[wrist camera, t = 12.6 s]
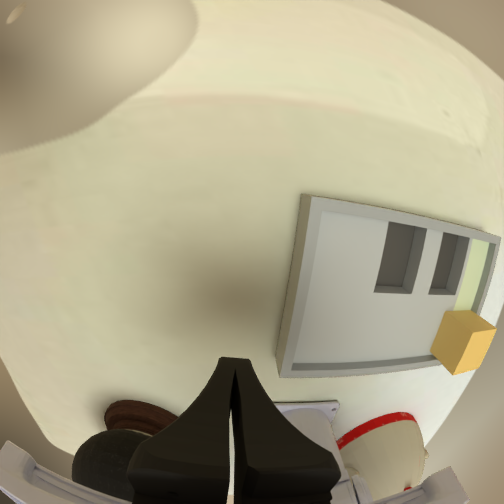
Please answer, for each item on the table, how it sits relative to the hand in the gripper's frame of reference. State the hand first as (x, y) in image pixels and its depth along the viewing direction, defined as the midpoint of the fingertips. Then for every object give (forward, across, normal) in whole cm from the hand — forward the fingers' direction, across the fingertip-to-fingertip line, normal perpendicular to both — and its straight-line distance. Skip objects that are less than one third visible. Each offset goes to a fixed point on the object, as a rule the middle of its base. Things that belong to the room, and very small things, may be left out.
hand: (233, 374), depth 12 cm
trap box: (+10, -14, -1) cm, 18 cm away
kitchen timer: (+10, -21, +23) cm, 33 cm away
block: (+8, -22, +2) cm, 23 cm away
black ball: (+10, +9, +20) cm, 24 cm away
